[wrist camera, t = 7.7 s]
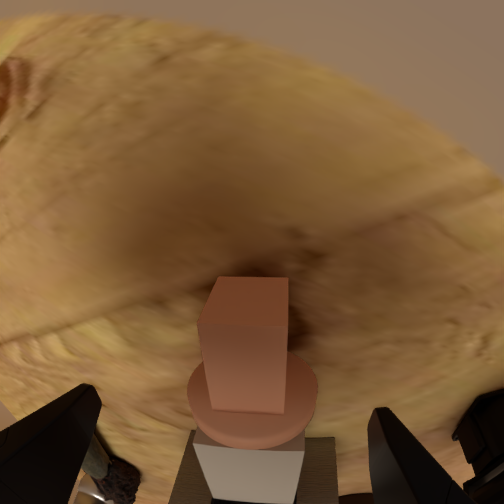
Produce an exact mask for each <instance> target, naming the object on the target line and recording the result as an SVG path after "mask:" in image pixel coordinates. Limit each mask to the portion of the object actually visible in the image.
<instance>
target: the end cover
mask: <svg viewBox="0 0 504 504" xmlns="http://www.w3.org/2000/svg"><path fill="white" fill-rule="evenodd" d="M197 326H198V333H199V339H200V345H201V351H202V357H203V362H202V363H201V364H200V365H199V366H198V367H197V368H196V369H195V370H194V372H193V373H192V375H191V377H190V379H189V383H188V388H187V394H188V400H189V403H190V407H191V411H192V414H193V417H194V420H195V422H196V424H197V425H198V427H197V430H196V433H195V437H194V440H193V446H194V449H195V452H196V454H197V457H198V460H199V463H200V465H201V468H202V471H203V473H204V476H205V478H206V481H207V483H208V486H209V488H210V491H211V493H212V496H213V498H217V499H224V500H233V501H243V502H255V503H275V504H293V502H294V498H295V494H296V489H297V485H298V481H299V476H300V471H301V467H302V462H303V457H304V452H305V427H306V426H307V425H308V423H309V422H310V420H311V418H312V416H313V414H314V409H315V404H316V398H317V392H318V385H317V380H316V377H315V374H314V373H313V371H312V369H311V368H310V367H309V366H308V364H307V363H305V362H304V361H303V360H302V359H301V358H299V357H298V356H296V355H294V354H292V353H290V352H288V351H287V340H288V278H286V277H225V276H218V278H217V280H216V283H215V285H214V287H213V289H212V291H211V293H210V296H209V298H208V300H207V302H206V304H205V306H204V308H203V311H202V313H201V315H200V317H199V319H198V322H197Z"/></svg>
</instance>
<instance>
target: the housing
mask: <svg viewBox="0 0 504 504" xmlns="http://www.w3.org/2000/svg"><path fill="white" fill-rule="evenodd" d="M195 433H196V431H193V430H191V433H190V436H189V439H188V442H187V445H186V449H185V452H184V455H183V458H182V461H181V464H180V468H179V471H178V474H177V477H176V480H175V484H174V487H173V490H172V493H171V496H170V499H169V503H168V504H275V503H255V502H243V501H233V500H224V499H217V498H213V496H212V493H211V491H210V488H209V486H208V483H207V481H206V478H205V476H204V473H203V471H202V468H201V465H200V463H199V460H198V457H197V454H196V452H195V449H194V446H193V440H194V437H195ZM293 504H339V499H338V480H337V465H336V452H335V439H334V437H332V438H305V452H304V457H303V462H302V467H301V471H300V476H299V481H298V485H297V489H296V494H295V498H294V502H293Z"/></svg>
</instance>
